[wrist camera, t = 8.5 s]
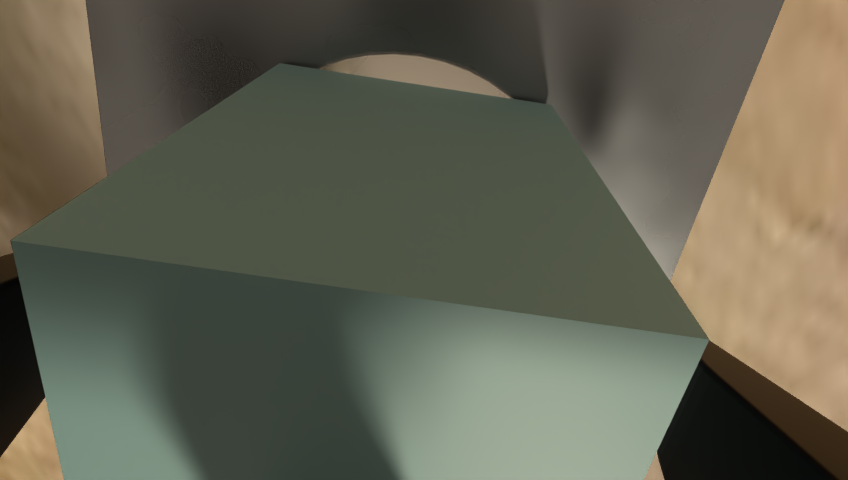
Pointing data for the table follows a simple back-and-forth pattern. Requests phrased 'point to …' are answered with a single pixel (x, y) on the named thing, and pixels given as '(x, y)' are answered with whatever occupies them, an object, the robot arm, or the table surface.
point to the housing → (355, 298)
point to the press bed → (464, 74)
